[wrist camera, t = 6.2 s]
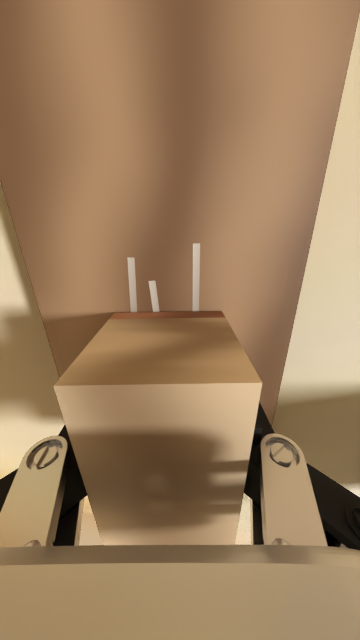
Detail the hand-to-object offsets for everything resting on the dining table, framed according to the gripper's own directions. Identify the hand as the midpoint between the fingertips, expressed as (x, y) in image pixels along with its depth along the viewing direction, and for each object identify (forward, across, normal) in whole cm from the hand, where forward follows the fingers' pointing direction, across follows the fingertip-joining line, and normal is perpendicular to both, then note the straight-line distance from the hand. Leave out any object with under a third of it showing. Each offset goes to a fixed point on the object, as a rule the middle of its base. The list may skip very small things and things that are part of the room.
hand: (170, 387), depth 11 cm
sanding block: (0, 0, 0) cm, 0 cm away
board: (+2, 0, -4) cm, 4 cm away
